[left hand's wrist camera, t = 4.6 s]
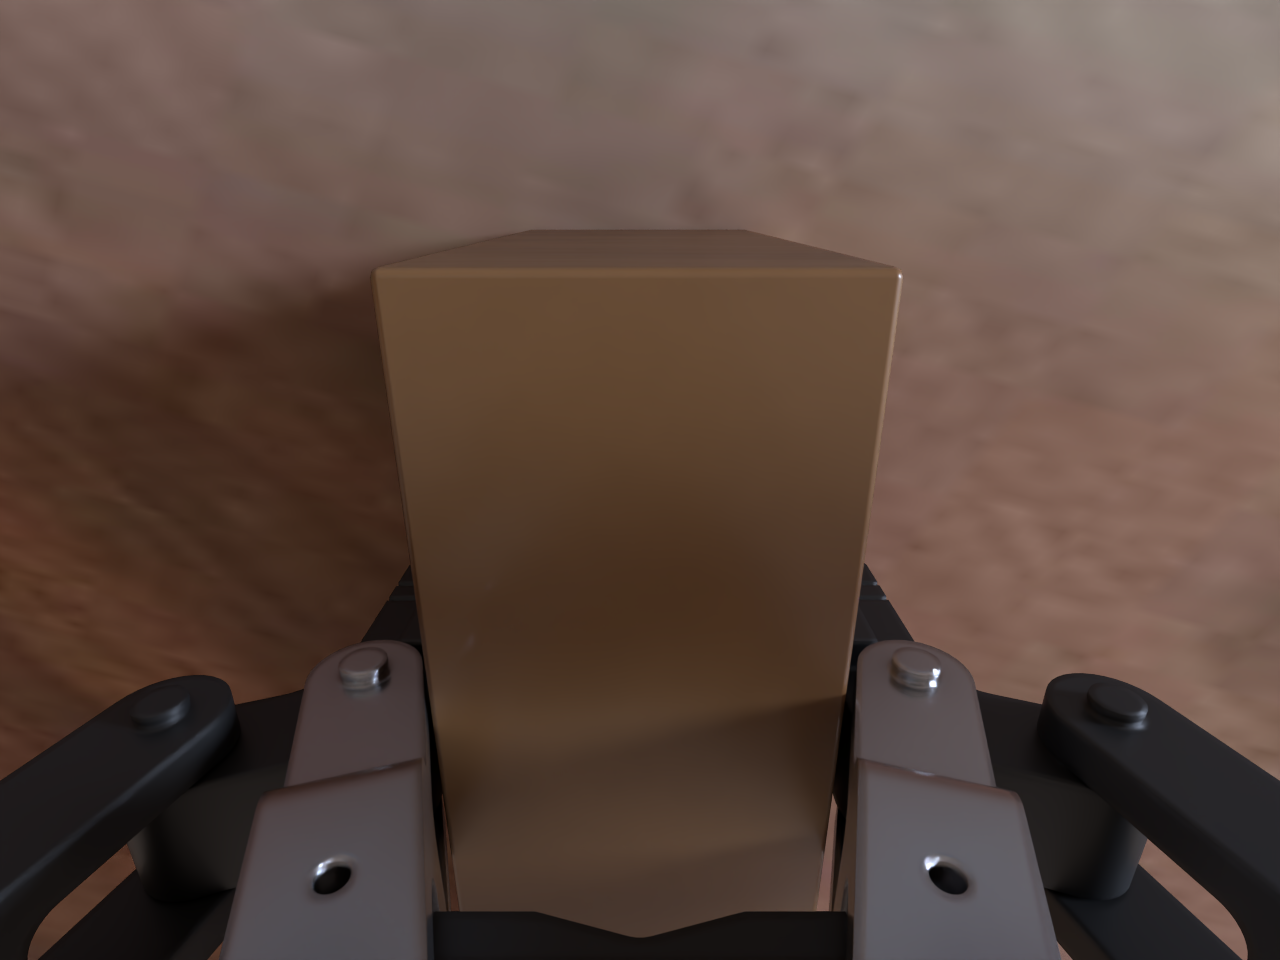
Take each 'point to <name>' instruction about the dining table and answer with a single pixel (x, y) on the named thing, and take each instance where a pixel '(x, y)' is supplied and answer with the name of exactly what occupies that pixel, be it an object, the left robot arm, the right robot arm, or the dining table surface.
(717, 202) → the dining table surface
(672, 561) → the bar
